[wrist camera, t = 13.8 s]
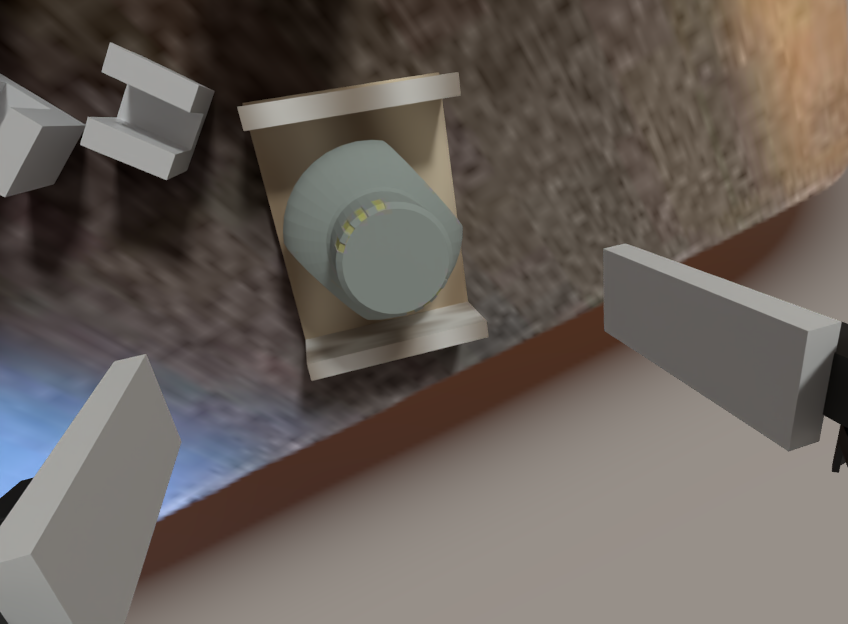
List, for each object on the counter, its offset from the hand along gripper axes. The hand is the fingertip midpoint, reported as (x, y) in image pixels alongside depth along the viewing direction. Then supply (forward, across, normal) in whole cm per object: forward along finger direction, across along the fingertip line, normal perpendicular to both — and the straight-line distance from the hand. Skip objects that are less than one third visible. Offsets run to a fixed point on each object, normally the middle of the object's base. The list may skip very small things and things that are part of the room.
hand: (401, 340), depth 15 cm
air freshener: (+21, +2, -1) cm, 21 cm away
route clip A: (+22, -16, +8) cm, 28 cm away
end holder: (+22, +2, -1) cm, 22 cm away
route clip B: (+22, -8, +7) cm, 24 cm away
